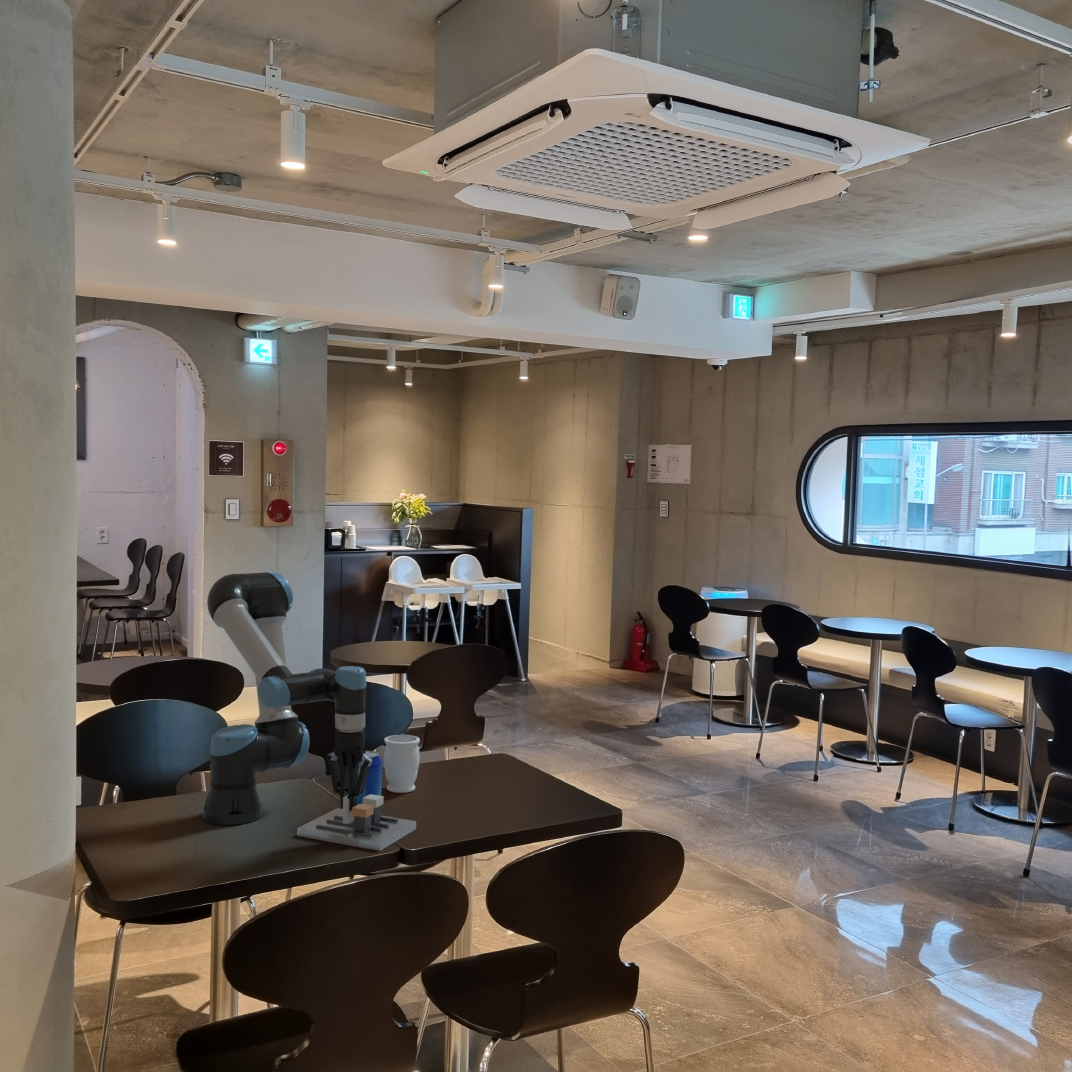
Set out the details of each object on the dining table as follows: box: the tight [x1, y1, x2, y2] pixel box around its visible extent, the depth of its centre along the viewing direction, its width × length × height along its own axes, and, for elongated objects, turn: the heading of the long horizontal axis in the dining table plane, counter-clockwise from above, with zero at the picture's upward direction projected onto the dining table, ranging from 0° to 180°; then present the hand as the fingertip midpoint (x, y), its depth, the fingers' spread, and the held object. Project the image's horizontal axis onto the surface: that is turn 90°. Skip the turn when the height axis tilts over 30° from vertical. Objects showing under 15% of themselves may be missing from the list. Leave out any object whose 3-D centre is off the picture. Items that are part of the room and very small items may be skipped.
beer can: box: [357, 750, 383, 805], centre depth 273 cm, size 8×8×16 cm
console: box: [296, 807, 417, 852], centre depth 257 cm, size 24×18×3 cm
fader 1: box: [352, 804, 374, 833], centre depth 251 cm, size 4×4×6 cm
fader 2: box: [363, 794, 385, 822], centre depth 259 cm, size 4×4×6 cm
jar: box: [383, 734, 421, 794], centre depth 295 cm, size 11×10×15 cm
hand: (348, 822), depth 253 cm, fingers closed
